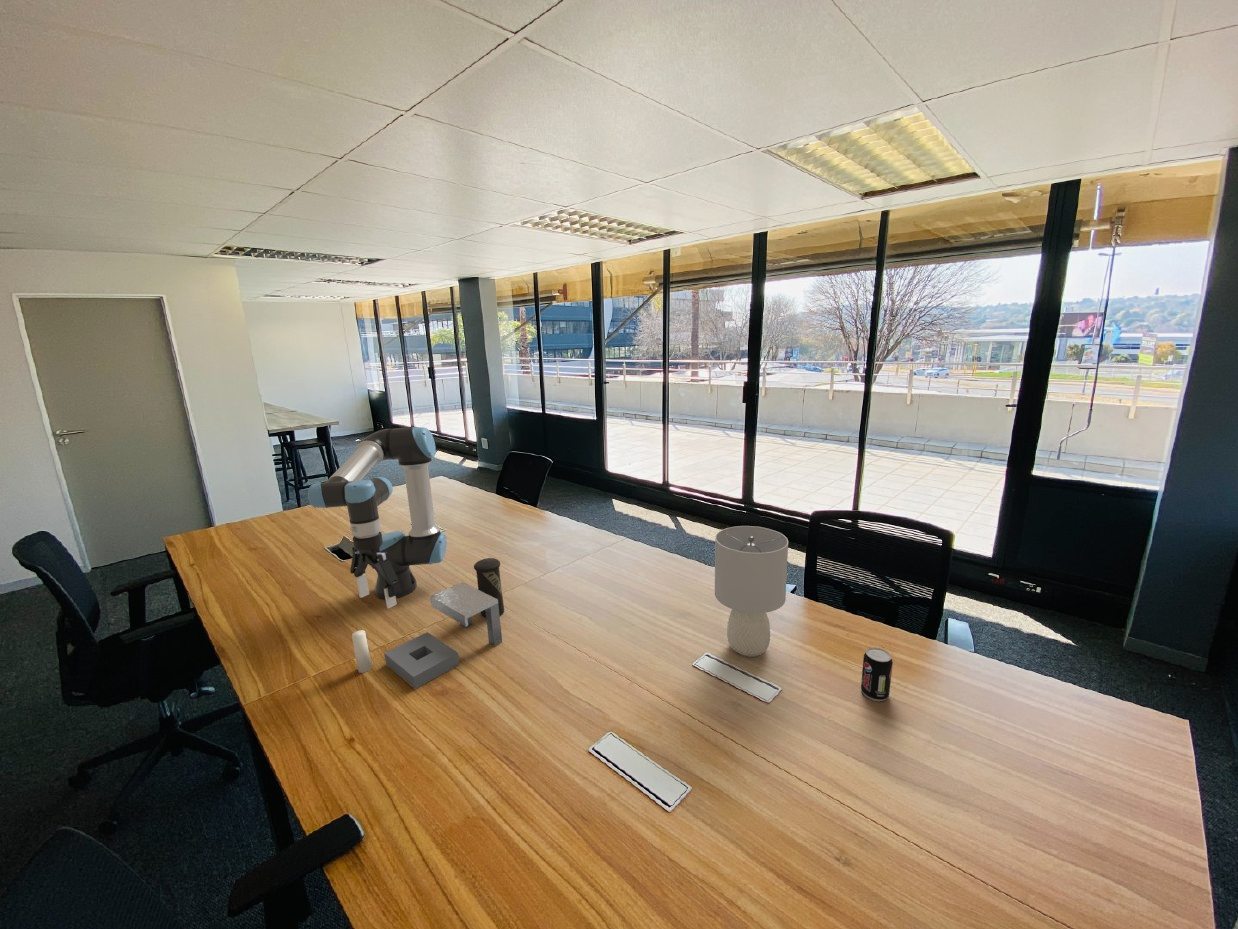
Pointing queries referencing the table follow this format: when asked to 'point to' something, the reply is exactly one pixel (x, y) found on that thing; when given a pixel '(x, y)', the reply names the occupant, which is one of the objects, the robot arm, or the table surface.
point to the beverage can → (876, 674)
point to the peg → (361, 651)
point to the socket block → (421, 659)
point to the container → (490, 580)
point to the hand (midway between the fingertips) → (377, 600)
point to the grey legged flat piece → (469, 608)
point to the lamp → (750, 583)
